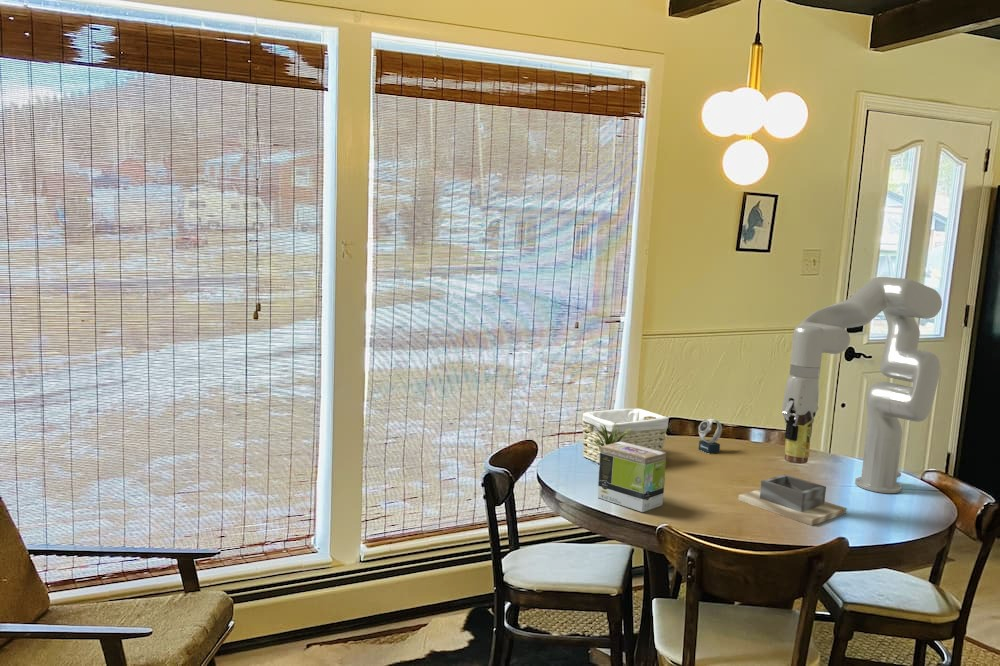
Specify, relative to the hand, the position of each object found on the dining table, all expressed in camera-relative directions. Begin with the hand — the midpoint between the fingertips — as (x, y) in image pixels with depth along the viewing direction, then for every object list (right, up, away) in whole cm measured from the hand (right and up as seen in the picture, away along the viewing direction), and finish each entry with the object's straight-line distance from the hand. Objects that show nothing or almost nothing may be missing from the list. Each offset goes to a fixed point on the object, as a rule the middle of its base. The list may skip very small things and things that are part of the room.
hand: (798, 437), depth 216 cm
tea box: (-45, -18, 0) cm, 49 cm away
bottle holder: (-1, -19, +3) cm, 19 cm away
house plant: (-49, -14, +23) cm, 56 cm away
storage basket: (-41, -13, +40) cm, 59 cm away
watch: (-10, -12, +55) cm, 57 cm away
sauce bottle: (0, -7, +1) cm, 7 cm away
